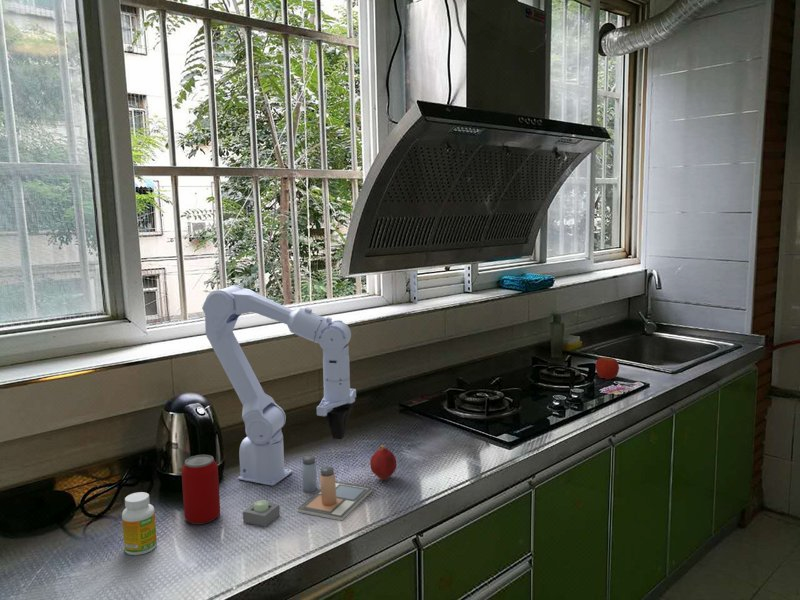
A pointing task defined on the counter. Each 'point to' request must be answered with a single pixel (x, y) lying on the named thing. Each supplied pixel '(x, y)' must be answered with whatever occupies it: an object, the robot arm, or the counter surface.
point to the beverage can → (200, 489)
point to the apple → (607, 367)
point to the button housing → (261, 515)
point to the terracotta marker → (328, 486)
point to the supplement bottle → (138, 524)
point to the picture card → (346, 502)
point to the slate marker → (309, 474)
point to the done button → (261, 506)
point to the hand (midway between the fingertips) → (338, 437)
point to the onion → (383, 463)
